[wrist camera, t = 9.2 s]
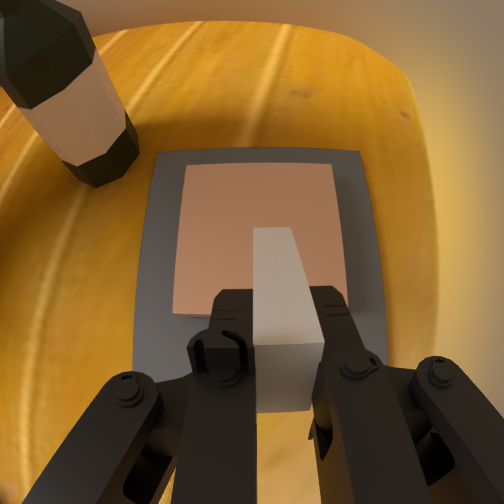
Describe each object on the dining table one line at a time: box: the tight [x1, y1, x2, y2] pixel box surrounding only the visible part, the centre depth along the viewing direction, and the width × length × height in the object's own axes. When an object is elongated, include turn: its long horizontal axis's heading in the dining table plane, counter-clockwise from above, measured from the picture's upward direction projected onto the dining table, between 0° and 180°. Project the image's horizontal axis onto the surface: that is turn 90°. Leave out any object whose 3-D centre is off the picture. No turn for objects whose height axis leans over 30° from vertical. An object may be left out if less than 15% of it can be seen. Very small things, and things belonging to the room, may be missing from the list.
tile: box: [173, 163, 348, 317], centre depth 22 cm, size 2×12×12 cm
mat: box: [133, 147, 388, 383], centre depth 23 cm, size 22×20×1 cm
